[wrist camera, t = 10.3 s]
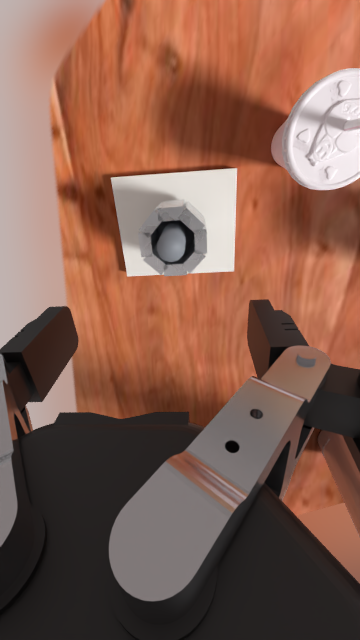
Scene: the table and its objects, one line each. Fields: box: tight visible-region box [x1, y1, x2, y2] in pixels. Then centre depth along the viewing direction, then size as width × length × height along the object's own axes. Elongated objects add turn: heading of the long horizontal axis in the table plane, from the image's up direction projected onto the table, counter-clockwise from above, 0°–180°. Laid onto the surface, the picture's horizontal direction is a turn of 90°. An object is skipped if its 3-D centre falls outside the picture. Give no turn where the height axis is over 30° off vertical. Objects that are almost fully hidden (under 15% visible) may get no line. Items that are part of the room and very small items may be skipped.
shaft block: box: [111, 168, 237, 276], centre depth 25 cm, size 12×10×9 cm
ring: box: [138, 199, 207, 276], centre depth 25 cm, size 6×6×5 cm
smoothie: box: [271, 68, 360, 190], centre depth 19 cm, size 6×6×14 cm
